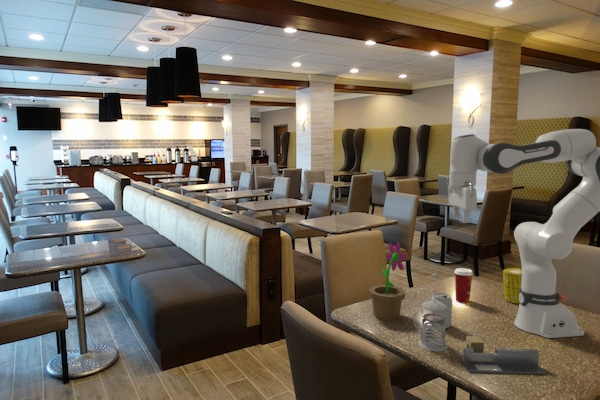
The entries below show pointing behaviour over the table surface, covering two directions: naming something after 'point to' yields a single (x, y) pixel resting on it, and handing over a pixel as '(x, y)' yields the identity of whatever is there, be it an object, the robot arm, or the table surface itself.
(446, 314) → the can
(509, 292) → the food
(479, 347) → the clip
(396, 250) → the flowerpot
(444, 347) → the french press
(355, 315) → the table surface
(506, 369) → the rail
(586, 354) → the table surface
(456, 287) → the paper cup
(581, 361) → the table surface
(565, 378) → the table surface
